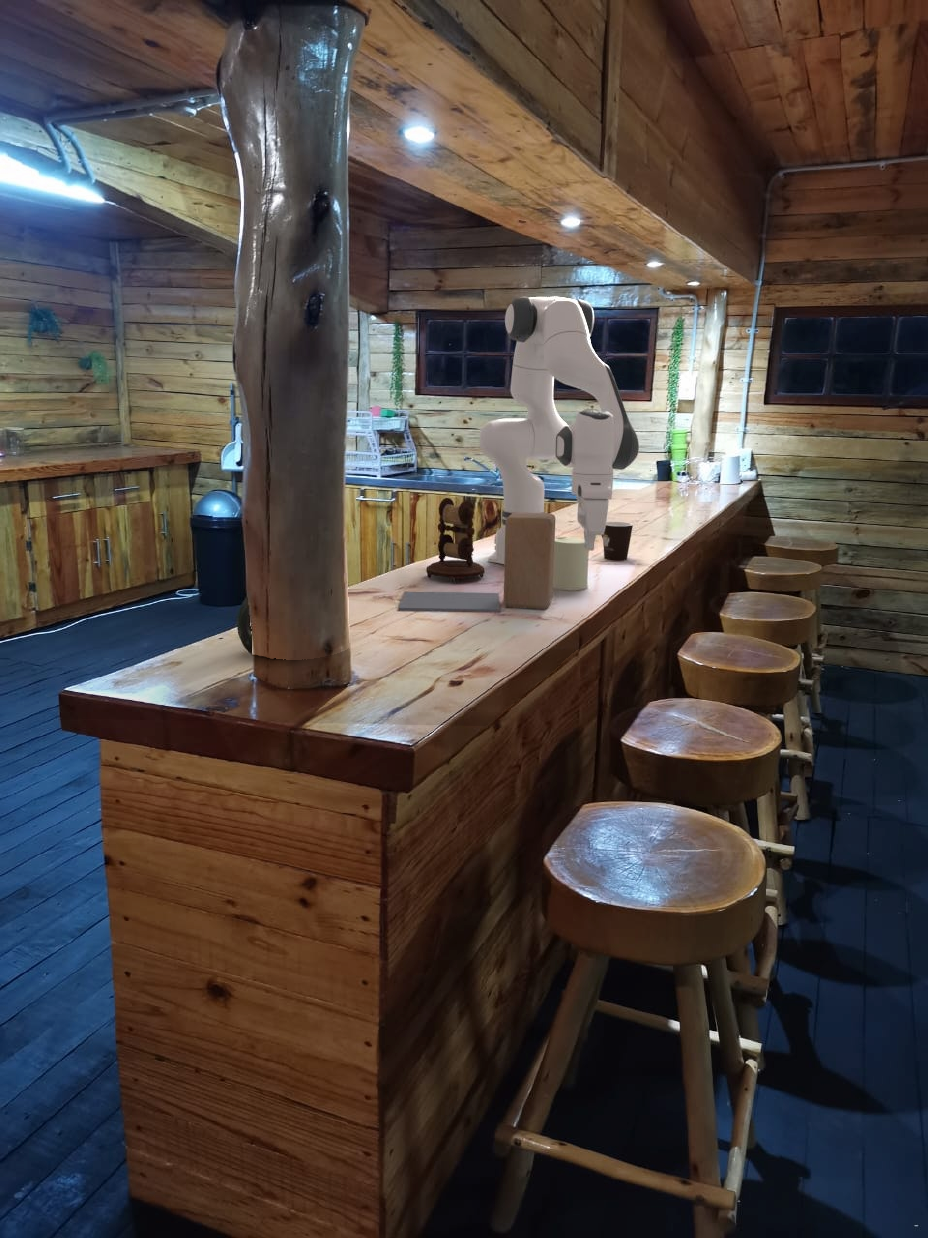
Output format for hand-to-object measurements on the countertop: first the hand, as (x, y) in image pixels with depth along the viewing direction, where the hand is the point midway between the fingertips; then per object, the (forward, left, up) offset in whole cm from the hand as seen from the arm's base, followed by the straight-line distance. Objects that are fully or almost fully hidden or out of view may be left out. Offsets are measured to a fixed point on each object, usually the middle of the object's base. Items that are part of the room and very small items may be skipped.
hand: (589, 549), depth 197 cm
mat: (0, -31, -13) cm, 33 cm away
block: (0, -13, -13) cm, 18 cm away
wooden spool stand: (-27, -30, -13) cm, 43 cm away
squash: (+41, -60, -13) cm, 74 cm away
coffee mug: (-58, +15, -13) cm, 61 cm away
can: (-19, -2, -13) cm, 23 cm away
